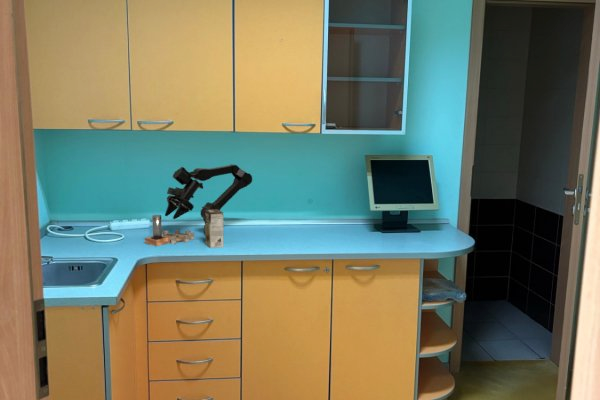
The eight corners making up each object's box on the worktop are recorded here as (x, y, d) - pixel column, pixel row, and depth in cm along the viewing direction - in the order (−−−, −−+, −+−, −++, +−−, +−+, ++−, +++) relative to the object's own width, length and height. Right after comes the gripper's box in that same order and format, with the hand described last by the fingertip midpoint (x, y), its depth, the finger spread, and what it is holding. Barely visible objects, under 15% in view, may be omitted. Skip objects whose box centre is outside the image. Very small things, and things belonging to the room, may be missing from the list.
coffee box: (204, 243, 270) (204, 209, 268) (218, 242, 273) (217, 208, 271) (210, 248, 262) (209, 212, 260) (224, 246, 265) (223, 211, 262)
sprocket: (178, 233, 291) (178, 228, 291) (201, 238, 280) (201, 232, 280) (139, 241, 273) (139, 235, 273) (161, 247, 263) (161, 241, 262)
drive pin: (162, 242, 273) (161, 214, 271) (161, 244, 270) (160, 216, 268) (153, 242, 273) (152, 214, 271) (152, 244, 269) (151, 216, 267)
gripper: (168, 178, 283) (149, 204, 278) (185, 182, 268) (164, 210, 263) (185, 192, 289) (166, 218, 284) (202, 196, 274) (182, 224, 269)
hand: (169, 217), depth 275 cm, fingers open, 9 cm apart
